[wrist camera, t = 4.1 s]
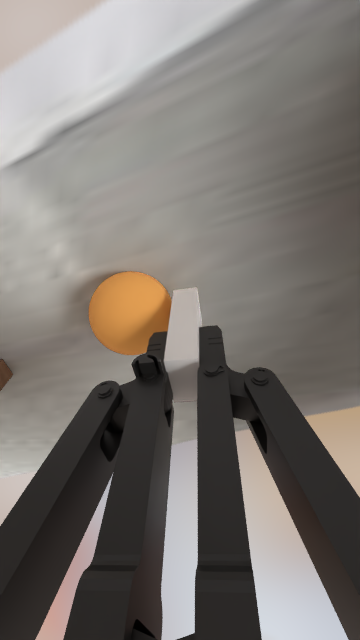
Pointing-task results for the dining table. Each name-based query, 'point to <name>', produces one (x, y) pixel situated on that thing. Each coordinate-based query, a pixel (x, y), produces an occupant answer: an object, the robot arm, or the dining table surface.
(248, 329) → the dining table surface
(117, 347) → the ball
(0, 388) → the bridge
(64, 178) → the dining table surface
